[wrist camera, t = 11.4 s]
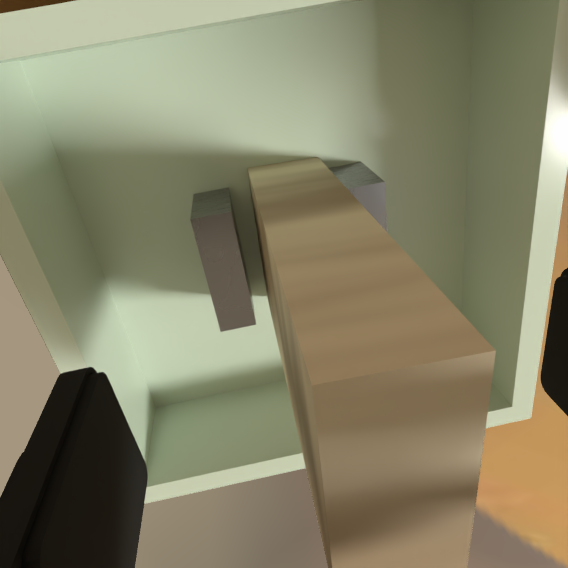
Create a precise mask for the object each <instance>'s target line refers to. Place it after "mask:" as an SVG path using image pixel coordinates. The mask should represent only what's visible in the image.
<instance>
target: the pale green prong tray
mask: <svg viewBox="0 0 568 568" xmlns="http://www.w3.org/2000/svg"><path fill="white" fill-rule="evenodd" d="M314 157H318V158H319V159H320V160H321V161H322V162H323V163H324V164H325V165H326V166H327V167H328V168H331V167H336V166H341V165H347V164H352V163H357V162H362V163H363V164H365V165H366V166H367V167H368V168H369V169H370V170H372V171H373V172H374V173H375V174H376V175H378V176H379V177H380V178H381V179H382V180H384V181H385V193H386V213H387V233H388V234H389V235H390V236H391V237H392V238H393V239H394V240H395V241H396V242H397V244H398V245H399V246H400V247H401V248H402V249H403V250H404V251H405V252H406V253H407V254H408V256H409V257H410V258H411V259H412V260H413V261H414V262H415V263H416V264H417V265H418V266H419V268H420V269H421V270H422V271H423V272H424V273H425V274H426V275H427V276H428V277H429V278H430V279H431V281H432V282H433V283H434V284H435V285H436V286H437V287H438V288H439V289H440V290H441V291H442V293H443V294H444V295H445V296H446V297H447V298H448V299H449V300H450V301H451V302H452V303H453V304H454V306H455V307H456V308H457V309H458V310H459V311H460V312H461V313H462V314H463V315H464V316H465V318H466V319H467V320H468V321H469V322H470V323H471V324H472V325H473V326H474V327H475V328H476V330H477V331H478V332H479V333H480V334H481V335H482V336H483V337H484V338H485V339H486V340H487V341H488V343H489V344H490V345H491V346H492V347H493V348H494V349H495V350H496V354H495V362H494V369H493V377H492V384H491V392H490V399H489V407H488V414H487V422H486V428H489V427H493V426H498V425H502V424H507V423H511V422H516V421H520V420H525V419H529V418H531V415H532V408H533V401H534V394H535V387H536V381H537V374H538V367H539V360H540V353H541V346H542V339H543V333H544V326H545V319H546V312H547V305H548V298H549V291H550V284H551V278H552V271H553V264H554V257H555V250H556V243H557V236H558V230H559V223H560V216H561V209H562V202H563V195H564V188H565V182H566V175H567V168H568V0H76V1H71V2H65V3H59V4H53V5H47V6H42V7H36V8H30V9H24V10H18V11H13V12H7V13H1V14H0V255H1V257H2V259H3V261H4V263H5V265H6V267H7V269H8V271H9V273H10V275H11V277H12V279H13V281H14V283H15V285H16V287H17V289H18V291H19V293H20V295H21V297H22V299H23V301H24V303H25V304H26V307H27V309H28V311H29V312H30V315H31V316H32V318H33V320H34V322H35V324H36V326H37V328H38V330H39V332H40V334H41V336H42V338H43V340H44V342H45V344H46V346H47V348H48V350H49V352H50V354H51V356H52V358H53V360H54V362H55V364H56V366H57V368H58V370H59V372H60V374H61V373H63V372H68V371H73V370H78V369H83V368H87V367H93V368H94V369H95V370H96V371H97V373H99V372H104V373H105V374H106V375H107V377H108V379H109V381H110V384H111V386H112V388H113V390H114V393H115V395H116V397H117V399H118V402H119V404H120V406H121V408H122V411H123V413H124V415H125V417H126V420H127V422H128V424H129V427H130V429H131V431H132V433H133V436H134V438H135V440H136V442H137V445H138V447H139V449H140V451H141V454H142V456H143V458H144V460H145V463H146V467H147V473H148V480H147V488H146V494H145V501H144V504H145V503H149V502H154V501H159V500H163V499H168V498H172V497H177V496H181V495H186V494H191V493H195V492H199V491H204V490H209V489H213V488H218V487H222V486H226V485H231V484H235V483H240V482H245V481H249V480H253V479H258V478H263V477H267V476H272V475H276V474H281V473H285V472H290V471H294V470H298V469H303V468H306V467H305V462H304V458H303V453H302V449H301V444H300V440H299V436H298V431H297V427H296V422H295V418H294V414H293V409H292V405H291V400H290V396H289V391H288V387H287V383H286V378H285V374H284V369H283V365H282V360H281V356H280V352H279V347H278V343H277V338H276V334H275V329H274V325H273V321H272V316H271V312H270V307H269V303H268V298H267V293H266V286H265V280H264V273H263V267H262V260H261V254H260V248H259V241H258V235H257V228H256V222H255V215H254V209H253V202H252V196H251V189H250V183H249V176H248V170H247V168H249V167H255V166H262V165H268V164H275V163H281V162H288V161H295V160H301V159H308V158H314ZM227 187H229V191H230V196H231V200H232V205H233V209H234V214H235V218H236V223H237V228H238V232H239V237H240V241H241V246H242V250H243V255H244V259H245V264H246V269H247V273H248V278H249V282H250V287H251V292H252V299H253V306H254V312H255V319H256V325H252V326H247V327H243V328H238V329H233V330H228V331H223V332H221V331H220V328H219V324H218V320H217V316H216V313H215V309H214V305H213V302H212V298H211V294H210V291H209V287H208V283H207V280H206V276H205V272H204V268H203V265H202V261H201V257H200V254H199V250H198V246H197V243H196V239H195V235H194V232H193V228H192V224H191V220H190V218H191V210H192V202H193V194H196V193H201V192H206V191H212V190H217V189H222V188H227Z"/></svg>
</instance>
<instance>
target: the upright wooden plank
mask: <svg viewBox="0 0 568 568" xmlns="http://www.w3.org/2000/svg"><path fill="white" fill-rule="evenodd" d="M247 170H248V176H249V183H250V189H251V196H252V202H253V209H254V215H255V222H256V228H257V235H258V241H259V248H260V254H261V260H262V267H263V273H264V280H265V286H266V293H267V298H268V303H269V307H270V312H271V316H272V321H273V325H274V329H275V334H276V338H277V343H278V347H279V352H280V356H281V360H282V365H283V369H284V374H285V378H286V383H287V387H288V391H289V396H290V400H291V405H292V409H293V414H294V418H295V422H296V427H297V431H298V436H299V440H300V444H301V449H302V453H303V458H304V462H305V467H306V471H307V475H308V480H309V484H310V488H311V493H312V497H313V502H314V506H315V511H316V515H317V520H318V524H319V529H320V533H321V537H322V542H323V546H324V551H325V555H326V560H327V564H328V568H467V564H468V557H469V550H470V542H471V535H472V534H471V533H472V526H473V520H474V512H475V505H476V497H477V490H478V482H479V475H480V467H481V460H482V452H483V444H484V437H485V429H486V422H487V414H488V407H489V399H490V392H491V384H492V377H493V369H494V362H495V354H496V350H495V349H494V348H493V347H492V346H491V345H490V344H489V343H488V341H487V340H486V339H485V338H484V337H483V336H482V335H481V334H480V333H479V332H478V331H477V330H476V328H475V327H474V326H473V325H472V324H471V323H470V322H469V321H468V320H467V319H466V318H465V316H464V315H463V314H462V313H461V312H460V311H459V310H458V309H457V308H456V307H455V306H454V304H453V303H452V302H451V301H450V300H449V299H448V298H447V297H446V296H445V295H444V294H443V293H442V291H441V290H440V289H439V288H438V287H437V286H436V285H435V284H434V283H433V282H432V281H431V279H430V278H429V277H428V276H427V275H426V274H425V273H424V272H423V271H422V270H421V269H420V268H419V266H418V265H417V264H416V263H415V262H414V261H413V260H412V259H411V258H410V257H409V256H408V254H407V253H406V252H405V251H404V250H403V249H402V248H401V247H400V246H399V245H398V244H397V242H396V241H395V240H394V239H393V238H392V237H391V236H390V235H389V234H388V233H387V232H386V231H385V229H384V228H383V227H382V226H381V225H380V224H379V223H378V222H377V221H376V220H375V219H374V217H373V216H372V215H371V214H370V213H369V212H368V211H367V210H366V209H365V208H364V207H363V206H362V204H361V203H360V202H359V201H358V200H357V199H356V198H355V197H354V196H353V195H352V194H351V192H350V191H349V190H348V189H347V188H346V187H345V186H344V185H343V184H342V183H341V182H340V180H339V179H338V178H337V177H336V176H335V175H334V174H333V173H332V172H331V171H330V170H329V169H328V167H327V166H326V165H325V164H324V163H323V162H322V161H321V160H320V159H319V158H318V157H314V158H308V159H301V160H295V161H288V162H281V163H275V164H268V165H262V166H255V167H249V168H247Z"/></svg>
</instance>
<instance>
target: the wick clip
mask: <svg viewBox="0 0 568 568" xmlns="http://www.w3.org/2000/svg"><path fill="white" fill-rule="evenodd" d="M328 169H329V170H330V171H331V172H332V173H333V174H334V175H335V176H336V177H337V178H338V179H339V180H340V182H341V183H342V184H343V185H344V186H345V187H346V188H347V189H348V190H349V191H350V192H351V194H352V195H353V196H354V197H355V198H356V199H357V200H358V201H359V202H360V203H361V204H362V206H363V207H364V208H365V209H366V210H367V211H368V212H369V213H370V214H371V215H372V216H373V217H374V219H375V220H376V221H377V222H378V223H379V224H380V225H381V226H382V227H383V228H384V229H385V231H386V232H387V213H386V193H385V181H384V180H382V179H381V178H380V177H379V176H378V175H376V174H375V173H374V172H373V171H372V170H370V169H369V168H368V167H367V166H366V165H365V164H363V163H362V162H357V163H352V164H347V165H341V166H336V167H331V168H328ZM190 220H191V224H192V228H193V232H194V235H195V239H196V243H197V246H198V250H199V254H200V257H201V261H202V265H203V268H204V272H205V276H206V280H207V283H208V287H209V291H210V294H211V298H212V302H213V305H214V309H215V313H216V316H217V320H218V324H219V328H220V331H221V332H223V331H228V330H233V329H238V328H243V327H247V326H252V325H256V319H255V312H254V306H253V299H252V292H251V287H250V282H249V278H248V273H247V269H246V264H245V259H244V255H243V250H242V246H241V241H240V237H239V232H238V228H237V223H236V218H235V214H234V209H233V205H232V200H231V196H230V191H229V187H227V188H222V189H217V190H212V191H206V192H201V193H196V194H193V202H192V210H191V218H190Z"/></svg>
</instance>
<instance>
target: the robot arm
mask: <svg viewBox="0 0 568 568" xmlns="http://www.w3.org/2000/svg"><path fill="white" fill-rule="evenodd" d="M541 383H542V386H543V388H544V390H545V392H546V393H547V394H548V395H549V396H550V398H551V399H552V400H553V401H554V402H555V403H556V404H557V405H558V406H559V407H560V408H561V409H562V410H563V411H564V413H565V414H566V415H567V416H568V268H567V269H565V270H564V271H563V272H562V274H561V277H559V278H557V279H556V281H555V284H554V290H553V297H552V304H551V310H550V317H549V324H548V330H547V337H546V344H545V350H544V357H543V364H542V370H541ZM147 480H148V473H147V467H146V463H145V460H144V458H143V456H142V454H141V451H140V449H139V447H138V445H137V442H136V440H135V438H134V436H133V433H132V431H131V429H130V427H129V424H128V422H127V420H126V417H125V415H124V413H123V411H122V408H121V406H120V404H119V402H118V399H117V397H116V395H115V393H114V390H113V388H112V386H111V384H110V381H109V379H108V377H107V375H106V374H105V373H104V372H99V373H97V371H96V370H95V369H94V368H93V367H87V368H83V369H78V370H73V371H68V372H63V373H61V374H60V375H59V377H58V379H57V381H56V383H55V385H54V387H53V390H52V392H51V394H50V396H49V398H48V400H47V403H46V405H45V407H44V409H43V411H42V414H41V416H40V418H39V420H38V422H37V425H36V427H35V429H34V431H33V433H32V435H31V438H30V440H29V442H28V444H27V446H26V449H25V451H24V452H23V453H22V454H21V456H20V457H19V459H18V461H17V463H16V465H15V467H14V469H13V471H12V473H11V476H10V478H9V480H8V482H7V484H6V486H5V489H4V491H3V493H2V495H1V497H0V568H135V562H136V555H137V548H138V542H139V535H140V528H141V521H142V515H143V508H144V501H145V494H146V488H147Z"/></svg>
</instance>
